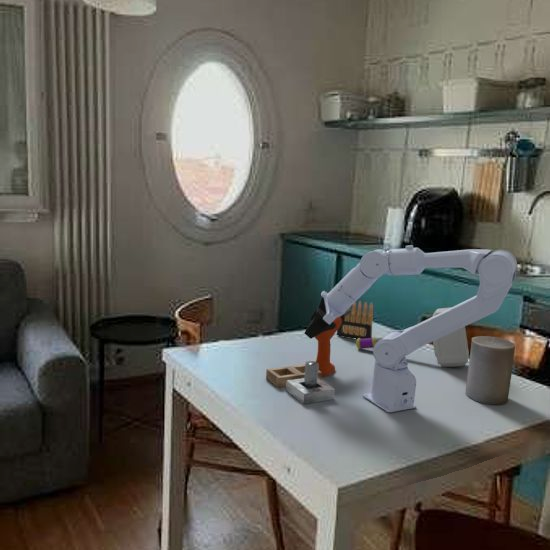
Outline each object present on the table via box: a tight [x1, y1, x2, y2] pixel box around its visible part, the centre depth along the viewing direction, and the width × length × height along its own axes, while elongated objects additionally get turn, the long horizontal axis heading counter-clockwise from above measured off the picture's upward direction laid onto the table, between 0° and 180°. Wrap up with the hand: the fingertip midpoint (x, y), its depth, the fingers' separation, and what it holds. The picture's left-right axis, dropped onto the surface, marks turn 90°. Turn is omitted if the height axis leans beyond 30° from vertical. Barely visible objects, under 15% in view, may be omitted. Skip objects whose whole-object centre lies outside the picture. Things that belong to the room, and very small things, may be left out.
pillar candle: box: [465, 335, 516, 406], centre depth 133 cm, size 10×10×15 cm
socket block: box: [285, 378, 336, 405], centre depth 128 cm, size 8×8×2 cm
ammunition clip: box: [336, 300, 374, 340], centre depth 174 cm, size 11×2×12 cm, turn 69°
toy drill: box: [314, 309, 351, 377], centre depth 146 cm, size 5×19×15 cm, turn 148°
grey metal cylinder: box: [304, 360, 319, 389], centre depth 128 cm, size 3×3×8 cm
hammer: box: [356, 306, 470, 368], centre depth 159 cm, size 15×8×30 cm
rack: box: [265, 364, 323, 388], centre depth 136 cm, size 12×6×2 cm, turn 118°
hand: (310, 328), depth 134 cm, fingers open, 7 cm apart
